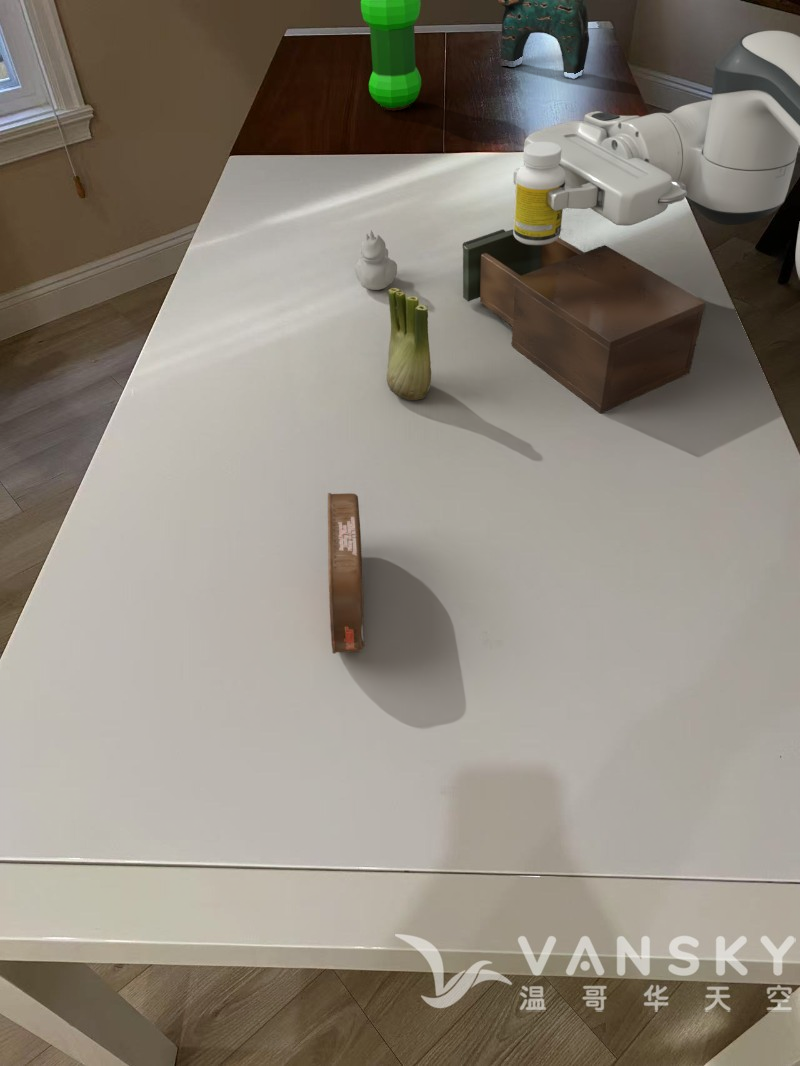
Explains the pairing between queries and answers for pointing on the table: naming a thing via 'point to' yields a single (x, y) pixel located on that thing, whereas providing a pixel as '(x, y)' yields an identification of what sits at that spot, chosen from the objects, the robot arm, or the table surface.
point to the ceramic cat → (546, 28)
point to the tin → (345, 573)
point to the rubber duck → (375, 264)
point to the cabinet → (605, 326)
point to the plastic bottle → (393, 51)
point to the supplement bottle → (538, 194)
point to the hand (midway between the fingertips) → (532, 190)
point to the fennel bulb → (408, 347)
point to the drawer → (505, 267)
